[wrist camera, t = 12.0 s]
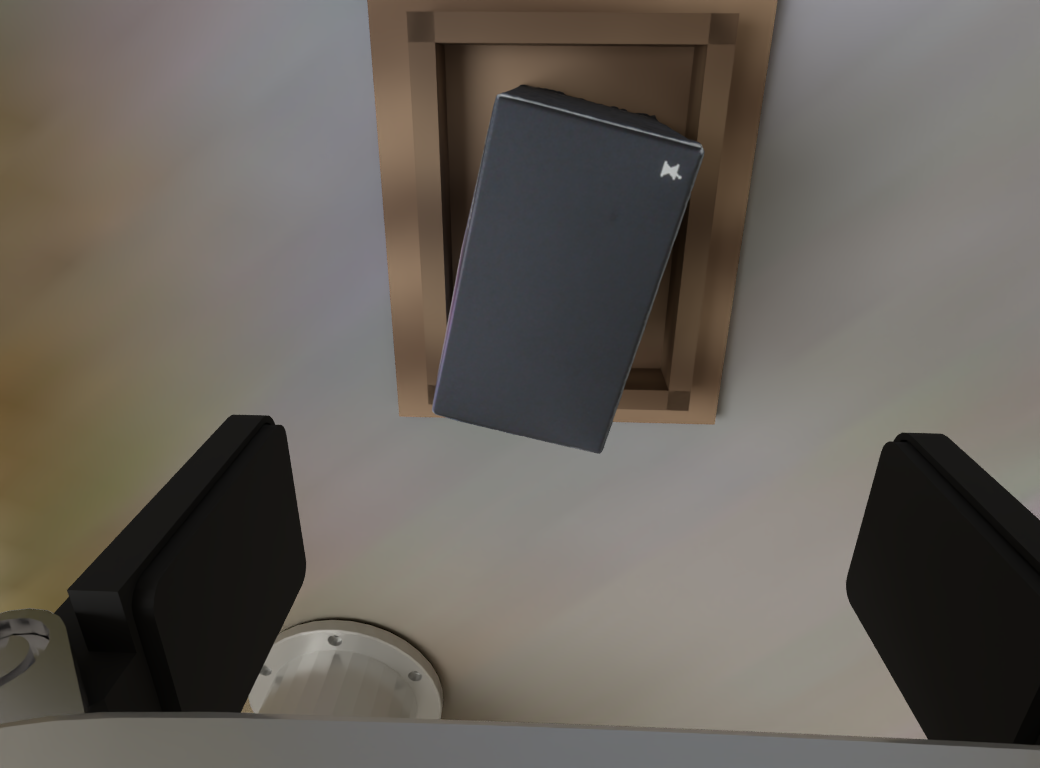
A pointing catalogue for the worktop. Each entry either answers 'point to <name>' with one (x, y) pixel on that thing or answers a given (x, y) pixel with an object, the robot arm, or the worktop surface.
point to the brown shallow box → (596, 78)
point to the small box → (560, 265)
